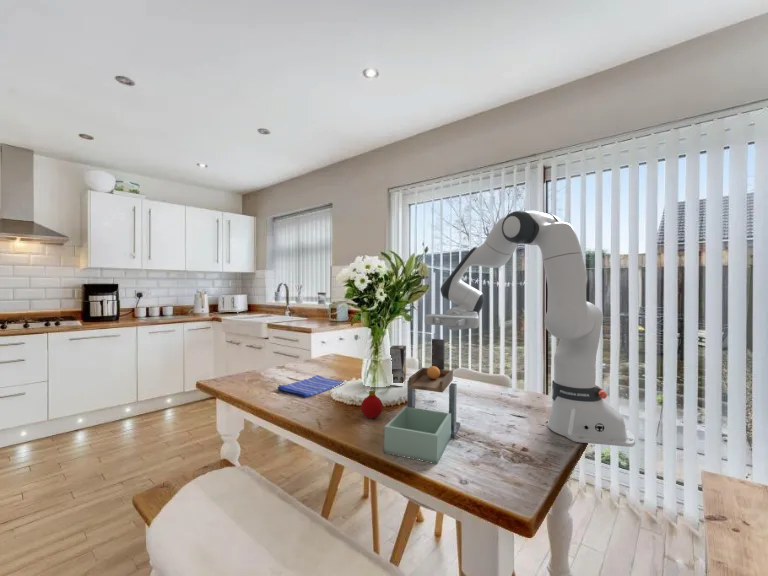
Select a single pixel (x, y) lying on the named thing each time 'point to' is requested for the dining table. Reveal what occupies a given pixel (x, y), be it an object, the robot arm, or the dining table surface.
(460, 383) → the dining table surface
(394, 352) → the coffee box
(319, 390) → the dish towel
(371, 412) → the christmas ornament
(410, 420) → the tub
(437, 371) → the ball
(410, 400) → the lever stand
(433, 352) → the lever tray
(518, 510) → the dining table surface
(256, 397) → the dining table surface
